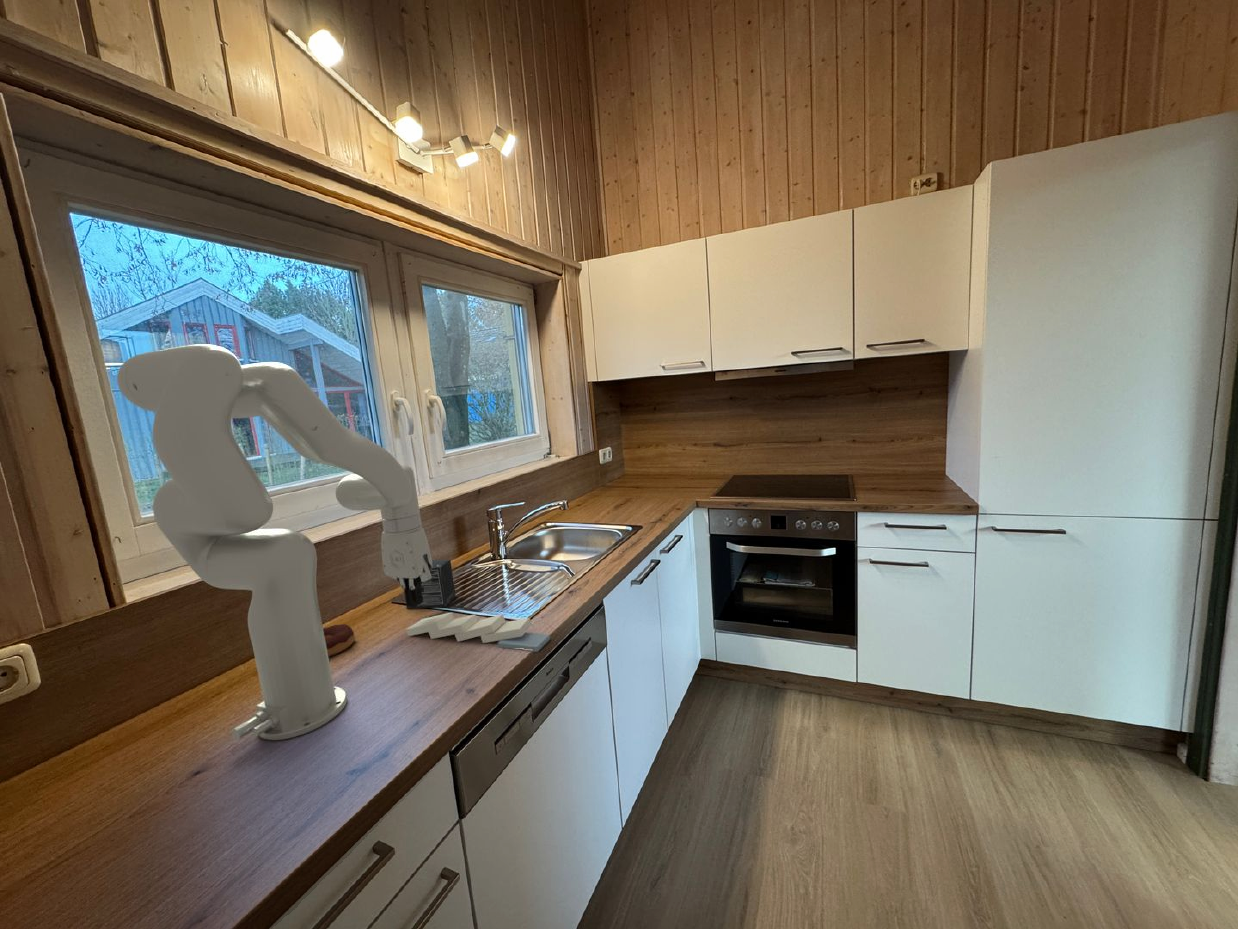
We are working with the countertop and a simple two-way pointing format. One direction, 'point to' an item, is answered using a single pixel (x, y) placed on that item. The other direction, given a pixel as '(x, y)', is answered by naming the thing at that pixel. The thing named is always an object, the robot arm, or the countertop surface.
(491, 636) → the domino
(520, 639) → the domino
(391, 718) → the countertop surface
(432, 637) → the domino
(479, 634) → the domino
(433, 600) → the small box
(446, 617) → the domino
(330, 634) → the donut
